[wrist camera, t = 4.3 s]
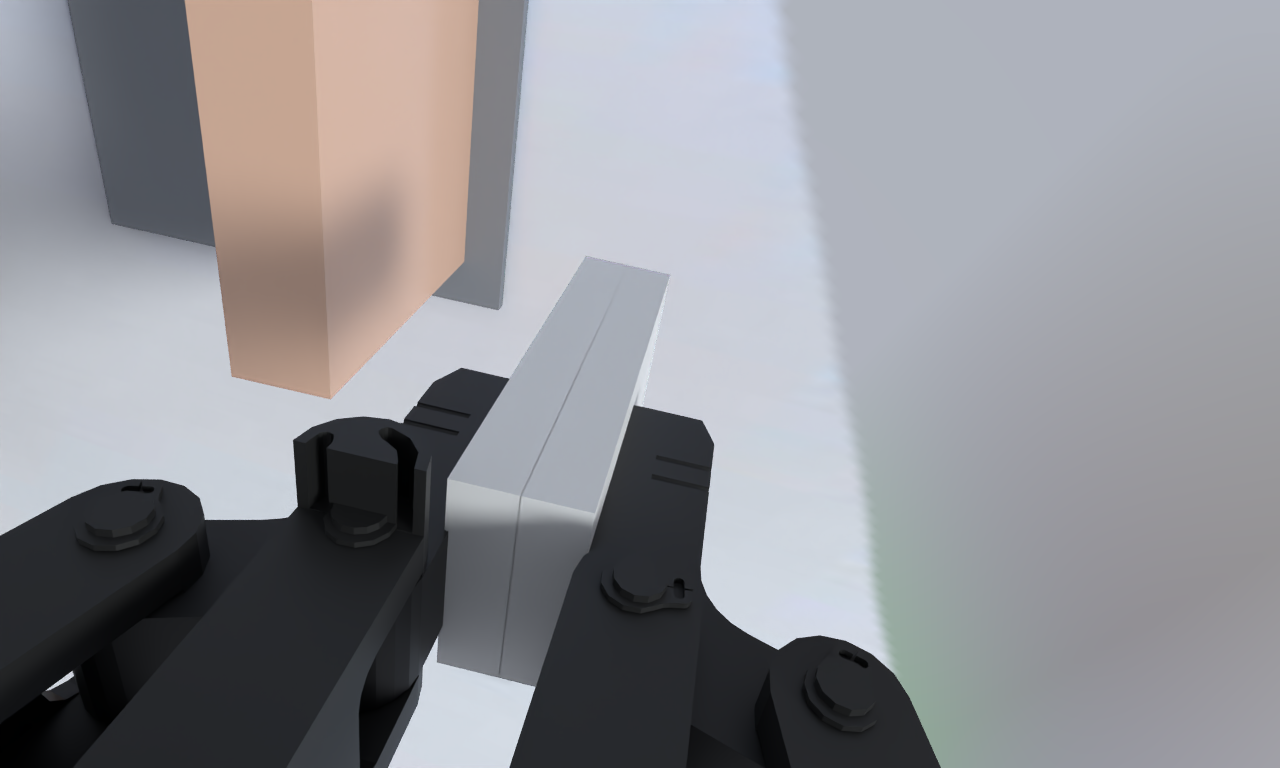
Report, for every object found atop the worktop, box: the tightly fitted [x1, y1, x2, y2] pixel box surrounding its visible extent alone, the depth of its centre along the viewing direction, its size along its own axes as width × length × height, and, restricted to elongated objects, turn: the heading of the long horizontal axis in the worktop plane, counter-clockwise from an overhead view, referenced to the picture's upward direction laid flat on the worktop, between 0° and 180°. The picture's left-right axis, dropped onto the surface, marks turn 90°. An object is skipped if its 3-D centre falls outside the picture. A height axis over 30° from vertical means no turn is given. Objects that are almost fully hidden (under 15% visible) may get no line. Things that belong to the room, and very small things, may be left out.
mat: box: [68, 0, 528, 310], centre depth 23 cm, size 14×12×1 cm
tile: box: [185, 0, 479, 399], centre depth 19 cm, size 2×9×9 cm, turn 170°
